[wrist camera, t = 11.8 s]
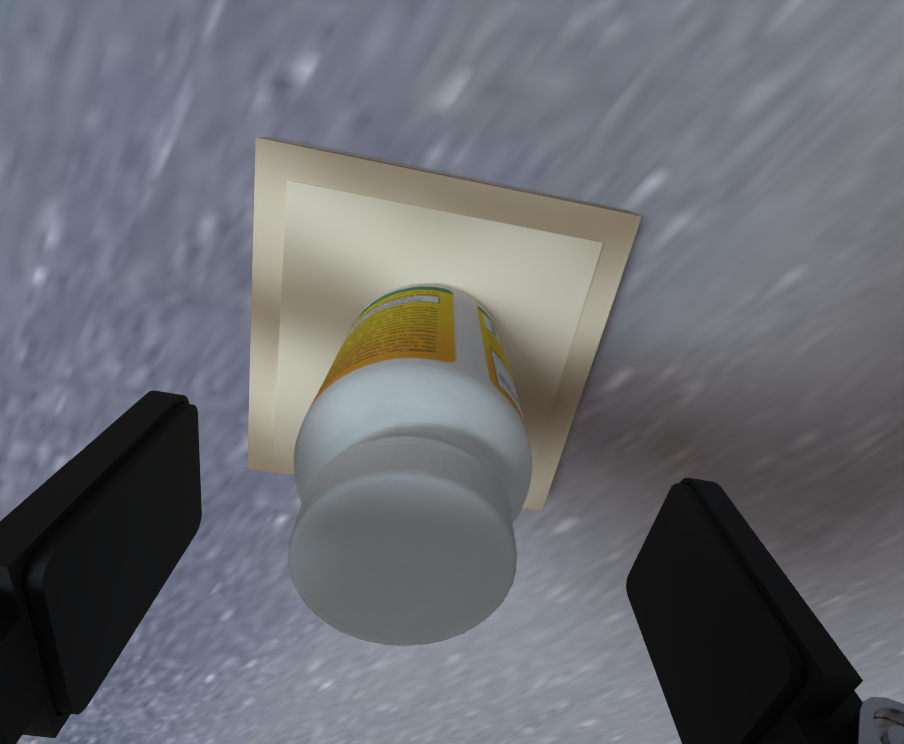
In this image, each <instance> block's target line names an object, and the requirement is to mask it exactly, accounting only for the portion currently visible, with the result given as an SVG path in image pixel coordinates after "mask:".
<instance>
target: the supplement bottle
mask: <svg viewBox="0 0 904 744" xmlns="http://www.w3.org/2000/svg"><path fill="white" fill-rule="evenodd" d="M294 476H295V483H296V487H297V491H298V494H299V497H300V500H301V502H302V504H301V508H300V511H299V514H298V517H297V520H296V523H295V525H294V528H293V531H292V535H291V538H290V541H289V569H290V574H291V578H292V581H293V584H294V586H295V588H296V589H297V591H298V593H299V595H300V596H301V598H302V599H303V601H304V602H305V603H306V605H307V606H308V607H309V608H310V609H311V610H312V611H313V612H314V613H315V614H316V615H317V616H318V617H320V618H321V619H322V620H324V621H325V622H326V623H327V624H329V625H331V626H332V627H334V628H335V629H337V630H339V631H341V632H343V633H345V634H348V635H351V636H353V637H356V638H358V639H362V640H366V641H369V642H374V643H380V644H386V645H398V646H406V645H421V644H429V643H434V642H440V641H443V640H446V639H449V638H452V637H455V636H457V635H460V634H463V633H465V632H466V631H468V630H470V629H472V628H474V627H475V626H477V625H478V624H480V623H481V622H482V621H484V620H485V619H486V618H488V617H489V616H490V615H491V614H492V613H493V612H494V611H495V610H496V609H497V608H498V607H499V606H500V605H501V603H502V602H503V601H504V599H505V597H506V596H507V594H508V592H509V590H510V588H511V586H512V584H513V580H514V576H515V572H516V560H517V552H516V545H515V538H514V531H513V522H514V521H515V519H516V518H517V516H518V514H519V513H520V511H521V509H522V507H523V505H524V503H525V500H526V497H527V495H528V491H529V487H530V482H531V476H532V454H531V446H530V441H529V437H528V433H527V429H526V425H525V421H524V418H523V414H522V411H521V407H520V404H519V400H518V396H517V393H516V389H515V385H514V381H513V377H512V374H511V370H510V367H509V362H508V359H507V355H506V352H505V349H504V345H503V343H502V339H501V336H500V333H499V331H498V329H497V326H496V325H495V323H494V321H493V320H492V318H491V317H490V315H489V314H488V313H487V312H486V310H485V309H484V308H483V307H482V306H481V305H480V304H478V303H477V302H476V301H475V300H473V299H472V298H471V297H469V296H467V295H466V294H464V293H462V292H460V291H458V290H456V289H453V288H450V287H446V286H443V285H438V284H415V285H409V286H404V287H400V288H397V289H394V290H391V291H389V292H386V293H385V294H383V295H381V296H379V297H378V298H376V299H375V300H373V301H372V302H371V303H370V304H368V305H367V306H366V307H365V309H364V310H363V311H362V312H361V313H360V314H359V316H358V317H357V319H356V320H355V322H354V323H353V325H352V327H351V329H350V331H349V332H348V334H347V337H346V338H345V340H344V342H343V344H342V346H341V348H340V350H339V352H338V354H337V356H336V358H335V360H334V362H333V364H332V366H331V368H330V370H329V372H328V374H327V375H326V378H325V380H324V382H323V384H322V386H321V387H320V389H319V391H318V393H317V395H316V397H315V398H314V400H313V402H312V404H311V406H310V408H309V410H308V412H307V414H306V416H305V418H304V420H303V422H302V425H301V427H300V430H299V433H298V436H297V439H296V444H295V449H294Z"/></svg>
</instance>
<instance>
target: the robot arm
mask: <svg viewBox="0 0 904 744" xmlns="http://www.w3.org/2000/svg"><path fill="white" fill-rule="evenodd" d="M201 516H202V509H201V484H200V458H199V432H198V411H197V408H196V406H195V405H191V404H189V401H188V399H187V397H186V396H184V395H178V394H172V393H166V392H160V391H150V392H148V393H147V394H146V395H145V396H143V397H142V398H141V399H140V400H139V401H138V402H137V403H135V404H134V405H133V406H132V407H131V408H130V409H129V410H127V411H126V412H125V413H124V414H123V415H122V416H121V417H119V418H118V419H117V420H116V421H115V422H114V423H113V424H111V425H110V426H109V427H108V428H107V429H106V430H105V431H103V432H102V433H101V434H100V435H99V436H98V437H97V438H95V439H94V440H93V441H92V442H91V443H90V444H89V445H87V446H86V447H85V448H84V449H83V450H82V451H81V452H79V453H78V454H77V455H76V456H75V457H74V458H73V459H71V460H70V461H69V462H68V463H66V464H65V465H64V466H63V467H62V468H61V469H60V470H58V471H57V472H56V473H55V474H54V475H53V476H52V477H50V478H49V479H48V480H47V481H46V482H45V483H44V484H42V485H41V486H40V487H39V488H38V489H37V490H36V491H34V492H33V493H32V494H31V495H30V496H29V497H28V498H26V499H25V500H24V501H23V502H22V503H21V504H20V505H18V506H17V507H16V508H15V509H14V510H13V511H12V512H10V513H9V514H8V515H7V516H6V517H5V518H4V519H2V520H1V521H0V744H16V743H17V742H18V740H19V739H20V737H21V736H22V735H31V736H40V737H50V738H56V736H57V734H58V733H59V731H60V730H61V728H62V727H63V725H64V724H65V722H66V721H67V719H68V718H69V716H70V714H79V713H81V712H82V711H83V710H84V709H85V708H86V707H87V705H88V704H89V703H90V701H91V700H92V698H93V696H94V695H95V693H96V692H97V690H98V688H99V687H100V685H101V684H102V682H103V681H104V679H105V677H106V676H107V674H108V673H109V671H110V669H111V668H112V666H113V665H114V663H115V662H116V660H117V658H118V657H119V655H120V654H121V652H122V650H123V649H124V647H125V646H126V644H127V642H128V641H129V639H130V638H131V636H132V635H133V633H134V631H135V630H136V628H137V627H138V625H139V623H140V622H141V620H142V619H143V617H144V615H145V614H146V612H147V611H148V609H149V608H150V606H151V604H152V603H153V601H154V600H155V598H156V596H157V595H158V593H159V592H160V590H161V589H162V587H163V585H164V584H165V582H166V581H167V579H168V577H169V576H170V574H171V573H172V571H173V569H174V568H175V566H176V565H177V563H178V562H179V560H180V558H181V557H182V555H183V554H184V552H185V550H186V549H187V547H188V546H189V544H190V542H191V541H192V539H193V538H194V536H195V534H196V533H197V531H198V528H199V525H200V522H201ZM626 589H627V595H628V598H629V601H630V603H631V606H632V609H633V611H634V614H635V617H636V620H637V622H638V625H639V628H640V630H641V633H642V636H643V639H644V641H645V644H646V647H647V650H648V652H649V655H650V658H651V660H652V663H653V666H654V669H655V671H656V674H657V677H658V679H659V682H660V685H661V688H662V690H663V693H664V696H665V698H666V701H667V704H668V707H669V709H670V712H671V715H672V717H673V720H674V723H675V726H676V728H677V731H678V734H679V737H680V739H681V742H682V744H904V704H902V703H900V702H897V701H894V700H891V699H888V698H885V697H871V698H869V699H867V700H865V701H863V702H862V701H861V699H860V698H859V696H858V695H857V694H856V692H855V691H854V690H855V689H856V688H857V687H858V686H859V684H860V683H861V682H862V681H863V680H862V679H861V677H860V676H859V675H858V673H857V672H856V670H855V669H854V668H853V666H852V665H851V664H850V662H849V661H848V660H847V658H846V657H845V655H844V654H843V653H842V651H841V650H840V649H839V647H838V646H837V645H836V643H835V642H834V640H833V639H832V638H831V636H830V635H829V634H828V632H827V631H826V630H825V628H824V627H823V625H822V624H821V623H820V621H819V620H818V619H817V617H816V616H815V615H814V613H813V612H812V610H811V609H810V608H809V606H808V605H807V604H806V602H805V601H804V600H803V598H802V597H801V596H800V594H799V593H798V591H797V590H796V589H795V587H794V586H793V585H792V583H791V582H790V581H789V579H788V578H787V576H786V575H785V574H784V572H783V571H782V570H781V568H780V567H779V566H778V564H777V563H776V561H775V560H774V559H773V557H772V556H771V555H770V553H769V552H768V551H767V549H766V548H765V546H764V545H763V544H762V542H761V541H760V540H759V538H758V537H757V536H756V534H755V533H754V532H753V530H752V529H751V527H750V526H749V525H748V523H747V522H746V521H745V519H744V518H743V517H742V515H741V514H740V512H739V511H738V510H737V508H736V507H735V506H734V504H733V503H732V502H731V500H730V499H729V497H728V496H727V495H726V493H725V492H724V491H723V489H722V488H721V487H720V486H719V485H718V484H717V483H715V482H711V481H705V480H699V479H693V478H684V479H683V480H682V481H681V482H680V483H677V484H674V485H673V486H672V487H671V489H670V491H669V493H668V495H667V497H666V499H665V501H664V503H663V505H662V507H661V509H660V511H659V513H658V515H657V517H656V519H655V521H654V523H653V525H652V528H651V530H650V532H649V534H648V536H647V538H646V540H645V542H644V544H643V546H642V548H641V550H640V552H639V554H638V556H637V558H636V560H635V562H634V564H633V566H632V569H631V571H630V573H629V575H628V577H627V582H626Z"/></svg>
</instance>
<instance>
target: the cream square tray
mask: <svg viewBox="0 0 904 744" xmlns="http://www.w3.org/2000/svg"><path fill="white" fill-rule="evenodd" d="M641 218H642V216H640V215H637V214H634V213H632V212H629V211H627V210H622V209H617V208H613V207H608V206H603V205H598V204H593V203H588V202H583V201H579V200H574V199H569V198H564V197H559V196H554V195H549V194H544V193H540V192H535V191H530V190H525V189H520V188H515V187H510V186H505V185H501V184H496V183H491V182H486V181H481V180H476V179H471V178H467V177H462V176H457V175H452V174H447V173H442V172H437V171H432V170H428V169H423V168H418V167H413V166H408V165H403V164H398V163H393V162H389V161H384V160H379V159H374V158H369V157H364V156H359V155H354V154H350V153H345V152H340V151H335V150H330V149H325V148H320V147H316V146H311V145H306V144H301V143H296V142H291V141H286V140H281V139H277V138H272V137H256V152H255V192H254V231H253V270H252V309H251V349H250V388H249V427H248V466H247V469H252V470H259V471H266V472H273V473H280V474H287V475H294V449H295V444H296V439H297V436H298V433H299V430H300V427H301V425H302V422H303V420H304V418H305V416H306V414H307V412H308V410H309V408H310V406H311V404H312V402H313V400H314V398H315V397H316V395H317V393H318V391H319V389H320V387H321V386H322V384H323V382H324V380H325V378H326V375H327V374H328V372H329V370H330V368H331V366H332V364H333V362H334V360H335V358H336V356H337V354H338V352H339V350H340V348H341V346H342V344H343V342H344V340H345V338H346V337H347V334H348V332H349V331H350V329H351V327H352V325H353V323H354V322H355V320H356V319H357V317H358V316H359V314H360V313H361V312H362V311H363V310H364V309H365V307H366V306H367V305H368V304H370V303H371V302H372V301H373V300H375V299H376V298H378V297H379V296H381V295H383V294H385V293H386V292H389V291H391V290H394V289H397V288H400V287H404V286H409V285H415V284H438V285H443V286H446V287H450V288H453V289H456V290H458V291H460V292H462V293H464V294H466V295H467V296H469V297H471V298H472V299H473V300H475V301H476V302H477V303H478V304H480V305H481V306H482V307H483V308H484V309H485V310H486V312H487V313H488V314H489V315H490V317H491V318H492V320H493V321H494V323H495V325H496V326H497V329H498V331H499V333H500V336H501V339H502V343H503V345H504V349H505V352H506V355H507V359H508V362H509V367H510V370H511V374H512V377H513V381H514V385H515V389H516V393H517V396H518V400H519V404H520V407H521V411H522V414H523V418H524V421H525V425H526V429H527V433H528V437H529V441H530V446H531V454H532V476H531V482H530V487H529V491H528V495H527V497H526V500H525V503H524V505H523V507H522V508H525V509H532V510H539V511H542V510H543V507H544V504H545V502H546V499H547V496H548V493H549V490H550V487H551V484H552V481H553V478H554V475H555V472H556V469H557V466H558V463H559V460H560V457H561V454H562V451H563V448H564V445H565V442H566V439H567V437H568V434H569V431H570V428H571V425H572V422H573V419H574V416H575V413H576V410H577V407H578V404H579V401H580V398H581V395H582V392H583V389H584V386H585V383H586V380H587V377H588V374H589V371H590V369H591V366H592V363H593V360H594V357H595V354H596V351H597V348H598V345H599V342H600V339H601V336H602V333H603V330H604V327H605V324H606V321H607V318H608V315H609V312H610V309H611V306H612V304H613V301H614V298H615V295H616V292H617V289H618V286H619V283H620V280H621V277H622V274H623V271H624V268H625V265H626V262H627V259H628V256H629V253H630V250H631V247H632V244H633V241H634V239H635V236H636V233H637V230H638V227H639V224H640V221H641Z"/></svg>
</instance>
